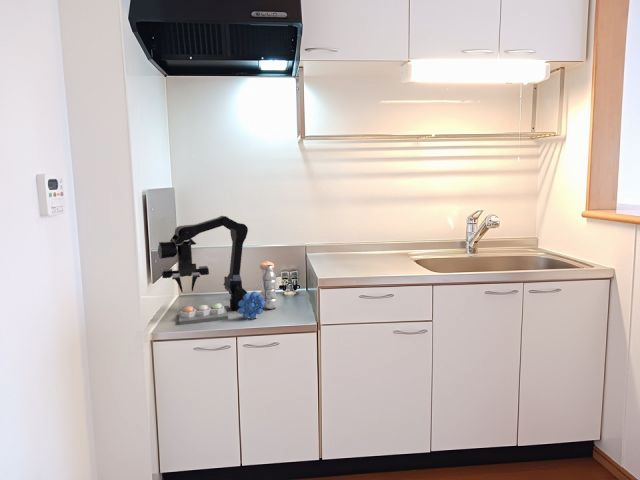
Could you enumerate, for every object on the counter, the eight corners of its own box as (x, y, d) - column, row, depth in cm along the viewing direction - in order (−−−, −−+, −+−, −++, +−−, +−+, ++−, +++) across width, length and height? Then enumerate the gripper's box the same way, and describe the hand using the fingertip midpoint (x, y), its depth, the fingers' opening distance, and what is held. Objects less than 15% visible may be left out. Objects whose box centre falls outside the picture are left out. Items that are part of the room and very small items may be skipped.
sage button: (221, 308, 193) (221, 302, 192) (222, 310, 189) (221, 305, 188) (212, 309, 191) (211, 303, 191) (212, 311, 188) (212, 306, 187)
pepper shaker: (261, 296, 218) (259, 259, 215) (275, 296, 219) (274, 259, 216) (260, 301, 211) (259, 262, 208) (275, 300, 212) (274, 261, 209)
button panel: (225, 309, 198) (224, 302, 198) (228, 319, 185) (227, 311, 185) (179, 314, 192) (178, 307, 192) (179, 324, 179) (178, 316, 179)
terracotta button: (193, 311, 189) (193, 305, 189) (193, 313, 185) (193, 308, 185) (183, 312, 188) (183, 306, 188) (183, 314, 184) (183, 309, 184)
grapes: (265, 314, 190) (264, 288, 188) (266, 319, 184) (265, 292, 182) (238, 316, 188) (237, 289, 187) (238, 321, 182) (236, 294, 180)
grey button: (207, 309, 191) (207, 304, 190) (207, 312, 187) (207, 306, 187) (198, 310, 190) (197, 305, 189) (198, 313, 186) (198, 307, 186)
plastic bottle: (265, 311, 195) (264, 267, 192) (261, 307, 201) (259, 265, 198) (279, 309, 198) (277, 266, 195) (274, 305, 204) (273, 263, 201)
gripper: (160, 260, 173) (163, 298, 175) (208, 257, 178) (210, 294, 180) (161, 256, 183) (164, 291, 185) (207, 253, 189) (209, 287, 191)
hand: (187, 291), depth 185 cm, fingers open, 4 cm apart
